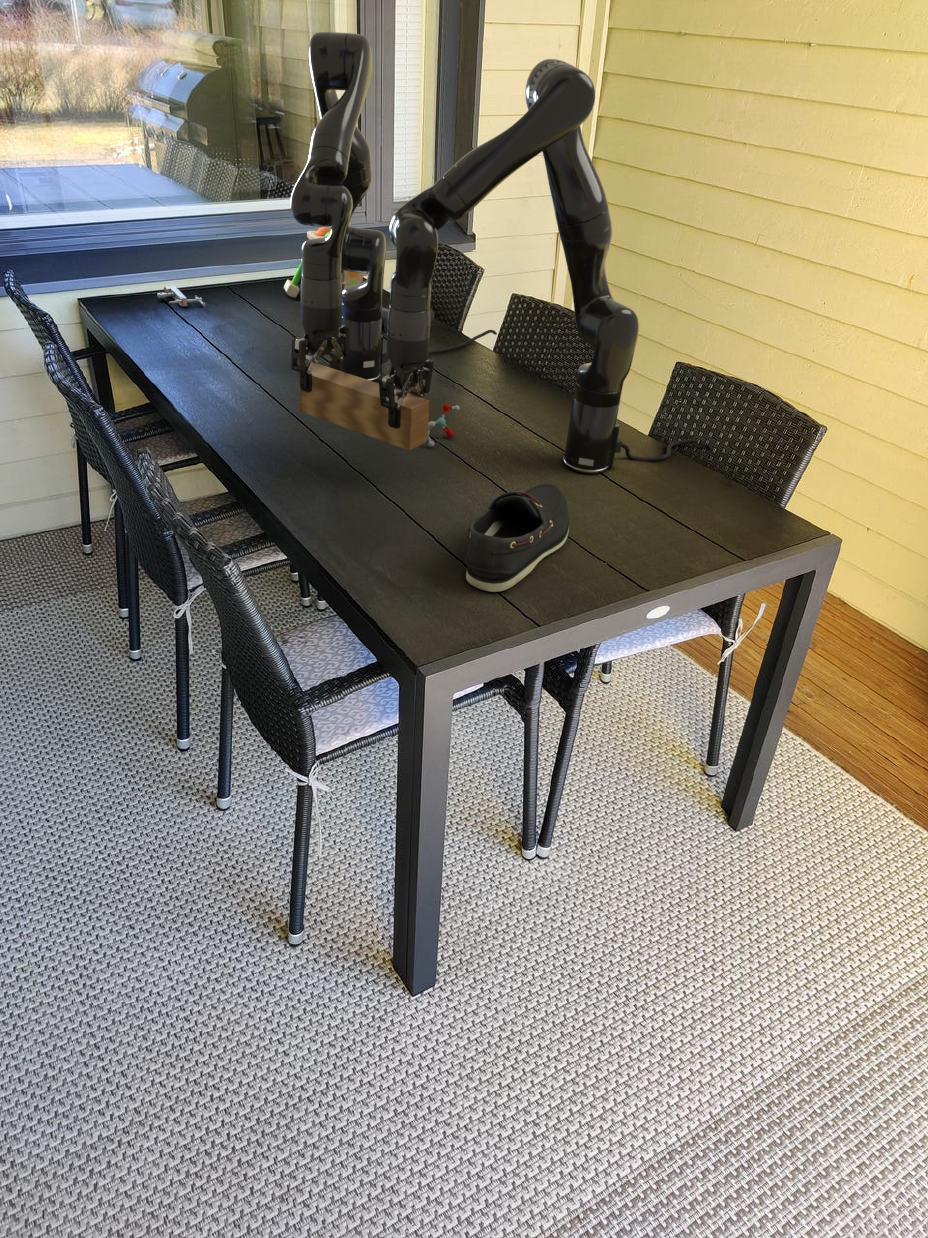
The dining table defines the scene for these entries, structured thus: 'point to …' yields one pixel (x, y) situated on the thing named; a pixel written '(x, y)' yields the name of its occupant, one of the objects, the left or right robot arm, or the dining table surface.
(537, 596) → the dining table surface
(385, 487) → the dining table surface
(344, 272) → the pounding bench toy
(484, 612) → the dining table surface
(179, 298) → the clamp
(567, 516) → the boat shoe
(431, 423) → the molecular model
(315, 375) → the bar
